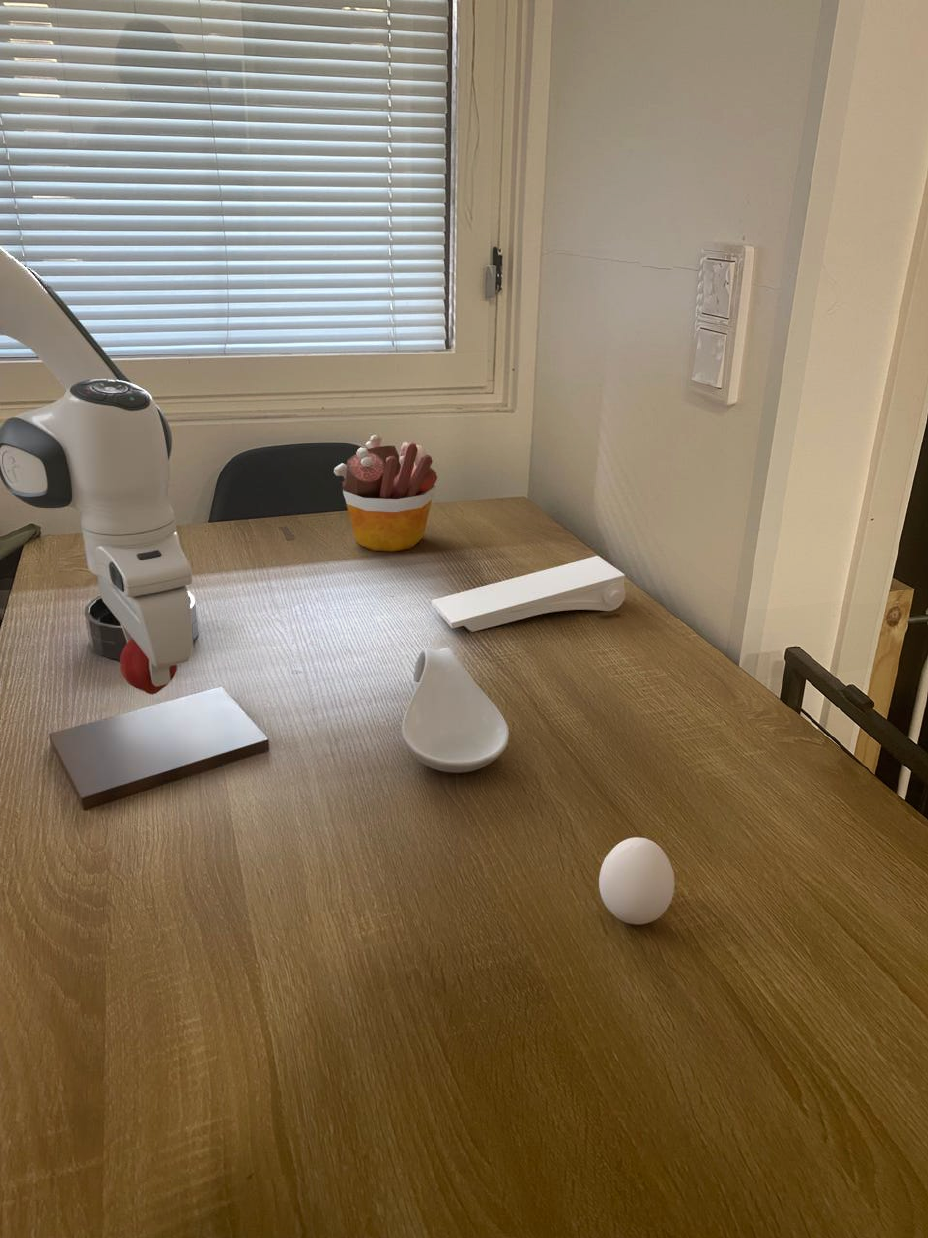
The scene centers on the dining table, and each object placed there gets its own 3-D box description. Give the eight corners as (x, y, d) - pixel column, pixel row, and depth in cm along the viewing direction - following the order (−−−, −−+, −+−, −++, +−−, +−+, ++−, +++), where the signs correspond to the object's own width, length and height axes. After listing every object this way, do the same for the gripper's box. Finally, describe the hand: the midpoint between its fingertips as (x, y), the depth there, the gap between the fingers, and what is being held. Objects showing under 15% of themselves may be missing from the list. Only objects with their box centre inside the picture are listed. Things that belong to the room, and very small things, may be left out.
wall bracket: (456, 667, 132) (625, 618, 140) (455, 630, 127) (630, 581, 135) (431, 624, 138) (593, 580, 146) (430, 588, 134) (597, 543, 142)
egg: (670, 947, 76) (681, 874, 73) (593, 936, 77) (602, 863, 74) (668, 895, 82) (679, 825, 79) (597, 885, 83) (605, 815, 80)
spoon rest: (519, 783, 97) (522, 726, 94) (410, 794, 95) (409, 736, 92) (473, 677, 118) (475, 627, 115) (383, 684, 116) (382, 633, 113)
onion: (136, 678, 101) (126, 613, 98) (187, 680, 101) (179, 615, 98) (116, 705, 96) (105, 637, 93) (170, 707, 96) (162, 640, 93)
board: (83, 810, 91) (81, 798, 90) (50, 745, 101) (48, 733, 101) (269, 750, 102) (268, 739, 101) (222, 696, 112) (221, 686, 111)
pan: (107, 671, 117) (101, 637, 115) (78, 630, 127) (72, 597, 125) (213, 645, 124) (210, 612, 122) (178, 608, 135) (174, 577, 133)
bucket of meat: (326, 531, 166) (321, 422, 158) (407, 519, 174) (407, 415, 165) (368, 568, 150) (366, 450, 142) (456, 553, 158) (459, 440, 149)
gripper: (73, 523, 97) (92, 638, 103) (130, 588, 82) (149, 718, 88) (133, 513, 101) (148, 625, 107) (198, 574, 86) (212, 701, 92)
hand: (149, 668), depth 97 cm, fingers closed on onion, 6 cm apart
